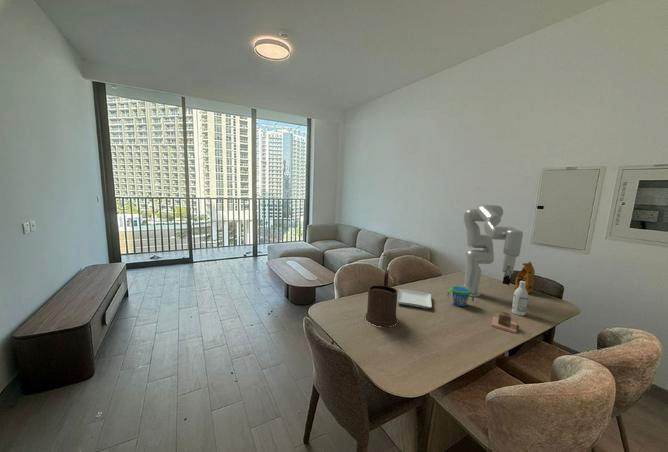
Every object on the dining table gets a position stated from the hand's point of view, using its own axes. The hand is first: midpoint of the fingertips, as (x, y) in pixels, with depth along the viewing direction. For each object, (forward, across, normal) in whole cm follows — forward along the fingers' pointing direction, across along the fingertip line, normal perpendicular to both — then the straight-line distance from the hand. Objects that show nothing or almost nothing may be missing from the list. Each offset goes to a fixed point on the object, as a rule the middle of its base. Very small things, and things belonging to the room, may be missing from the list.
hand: (506, 281), depth 145 cm
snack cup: (+24, -5, -23) cm, 33 cm away
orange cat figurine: (+25, -60, +11) cm, 66 cm away
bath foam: (+24, -15, +8) cm, 29 cm away
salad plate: (+24, +10, -47) cm, 54 cm away
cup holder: (+23, +42, -55) cm, 73 cm away
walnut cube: (+21, +8, +2) cm, 23 cm away
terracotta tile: (+23, +8, +2) cm, 24 cm away
